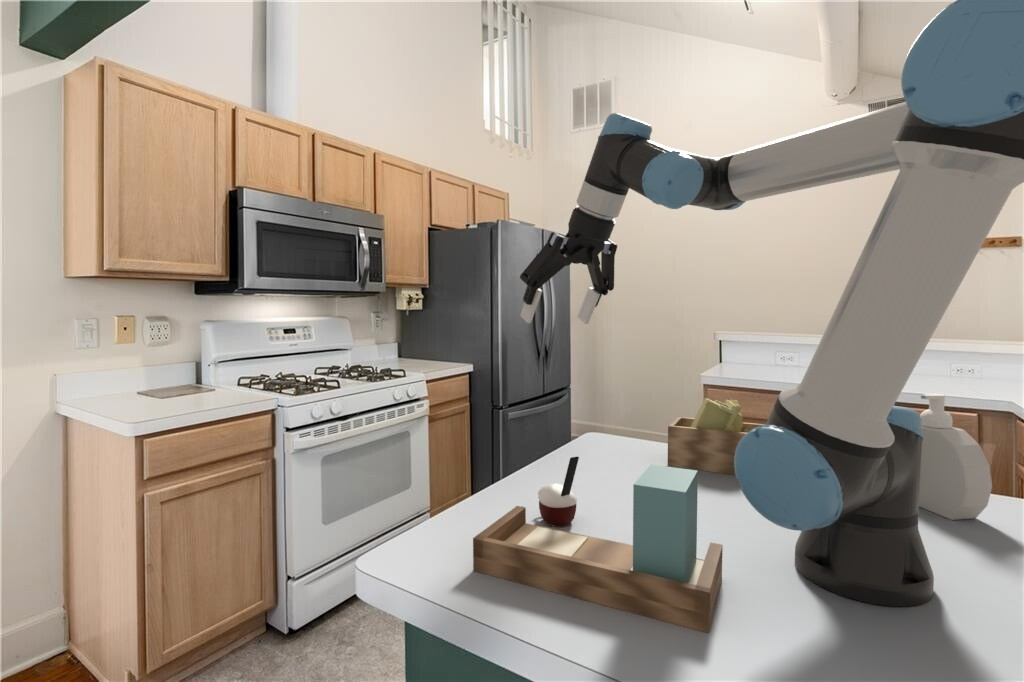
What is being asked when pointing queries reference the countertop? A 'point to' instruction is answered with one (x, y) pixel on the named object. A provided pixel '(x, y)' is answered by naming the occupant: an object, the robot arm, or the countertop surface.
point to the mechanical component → (719, 416)
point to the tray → (596, 571)
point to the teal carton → (665, 522)
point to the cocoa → (559, 499)
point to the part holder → (703, 446)
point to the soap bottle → (951, 466)
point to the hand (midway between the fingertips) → (555, 320)
